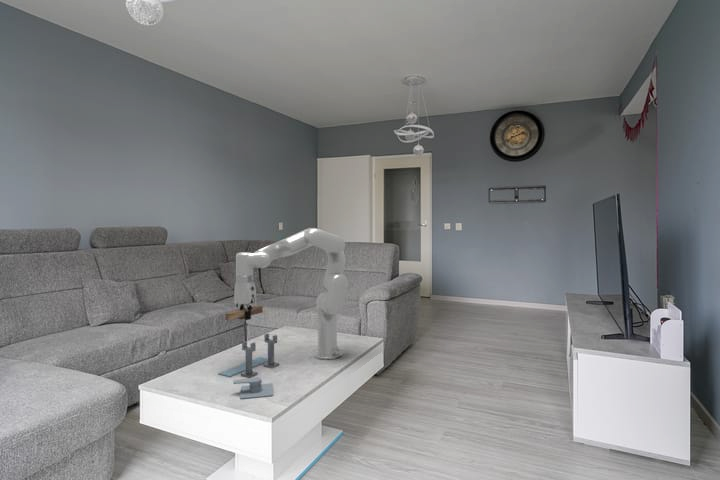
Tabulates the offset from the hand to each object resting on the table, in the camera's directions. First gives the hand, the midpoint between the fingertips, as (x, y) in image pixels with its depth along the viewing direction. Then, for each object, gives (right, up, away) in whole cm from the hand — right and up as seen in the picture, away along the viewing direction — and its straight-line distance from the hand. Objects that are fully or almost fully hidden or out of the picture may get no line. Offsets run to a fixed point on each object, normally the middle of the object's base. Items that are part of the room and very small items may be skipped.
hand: (244, 318), depth 191 cm
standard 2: (+11, -22, +2) cm, 25 cm away
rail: (0, +1, 0) cm, 1 cm away
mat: (0, -22, +1) cm, 22 cm away
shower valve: (+11, -24, -28) cm, 38 cm away
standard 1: (+4, -23, -10) cm, 25 cm away
